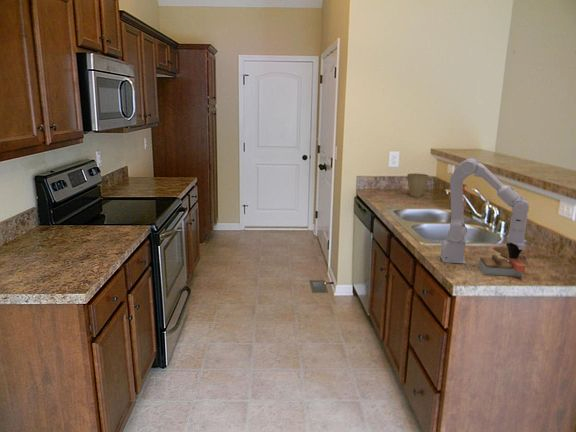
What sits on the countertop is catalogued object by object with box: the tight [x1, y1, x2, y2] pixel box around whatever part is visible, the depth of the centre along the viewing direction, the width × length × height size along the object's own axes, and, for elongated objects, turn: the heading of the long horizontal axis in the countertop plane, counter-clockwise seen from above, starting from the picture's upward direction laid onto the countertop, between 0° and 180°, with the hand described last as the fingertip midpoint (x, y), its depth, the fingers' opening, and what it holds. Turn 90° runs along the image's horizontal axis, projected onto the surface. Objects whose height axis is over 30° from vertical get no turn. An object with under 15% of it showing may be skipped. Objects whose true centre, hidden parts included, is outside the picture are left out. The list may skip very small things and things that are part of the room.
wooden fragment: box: [492, 245, 530, 266], centre depth 205 cm, size 26×11×1 cm, turn 177°
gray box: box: [477, 259, 523, 278], centre depth 184 cm, size 14×9×3 cm, turn 83°
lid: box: [479, 254, 513, 269], centre depth 183 cm, size 10×9×2 cm
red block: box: [508, 258, 527, 273], centre depth 180 cm, size 3×9×3 cm, turn 173°
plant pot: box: [407, 172, 430, 198], centre depth 333 cm, size 15×15×16 cm
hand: (512, 261), depth 185 cm, fingers closed
